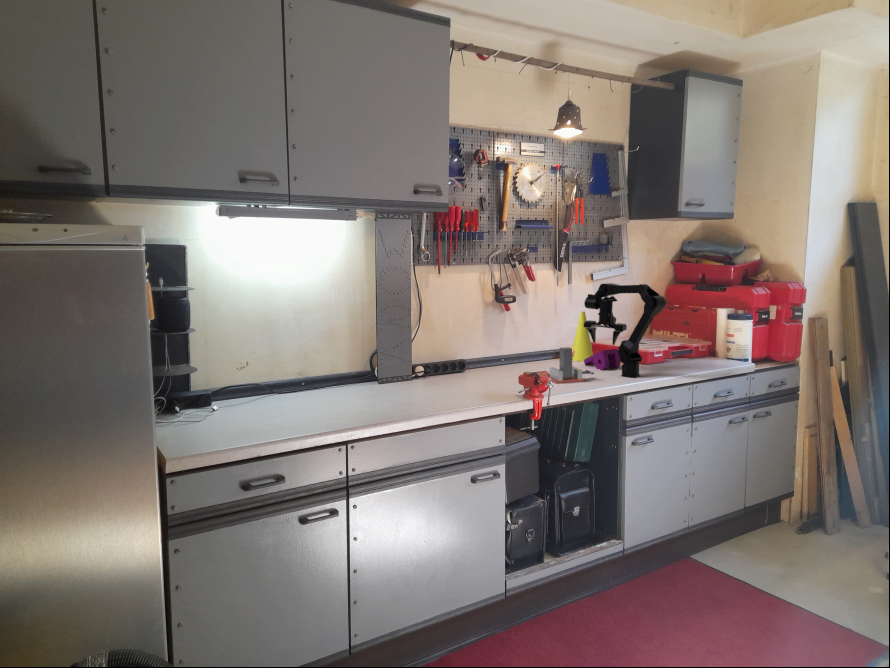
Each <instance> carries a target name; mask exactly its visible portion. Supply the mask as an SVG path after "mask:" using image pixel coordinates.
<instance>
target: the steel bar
mask: <svg viewBox="0 0 890 668" xmlns="http://www.w3.org/2000/svg"><path fill="white" fill-rule="evenodd" d="M572 348H573V347H572ZM572 348H571V347H568V346H567V347H559V367H558V368H559V370H561V371H563V379H571V378H572V366H573V360H572Z"/></svg>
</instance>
